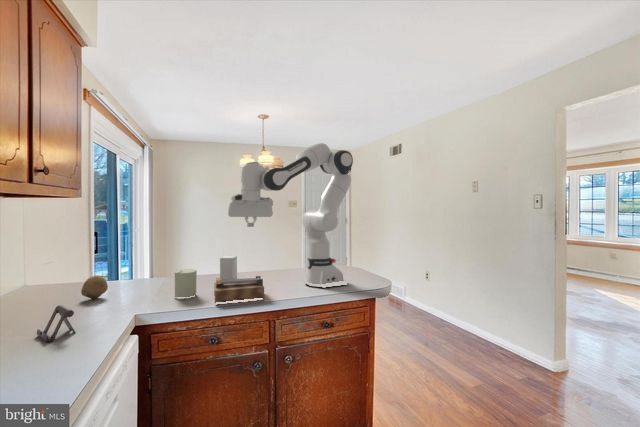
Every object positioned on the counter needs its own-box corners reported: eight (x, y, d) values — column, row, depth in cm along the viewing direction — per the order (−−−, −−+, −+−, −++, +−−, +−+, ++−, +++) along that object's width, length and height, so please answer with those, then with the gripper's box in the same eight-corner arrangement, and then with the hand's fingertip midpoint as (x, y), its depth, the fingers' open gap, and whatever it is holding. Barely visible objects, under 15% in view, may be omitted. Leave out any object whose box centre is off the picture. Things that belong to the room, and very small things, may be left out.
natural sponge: (113, 296, 137) (113, 274, 137) (93, 303, 128) (93, 279, 128) (97, 295, 139) (97, 273, 139) (77, 300, 131) (77, 277, 130)
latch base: (258, 292, 147) (258, 274, 147) (264, 300, 134) (264, 281, 134) (214, 295, 140) (214, 277, 140) (215, 305, 127) (215, 284, 127)
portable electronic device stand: (36, 336, 96) (36, 309, 96) (67, 328, 102) (67, 303, 102) (46, 344, 91) (45, 315, 91) (78, 334, 98) (78, 308, 97)
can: (169, 297, 137) (169, 270, 137) (187, 292, 145) (187, 267, 145) (183, 300, 133) (183, 272, 132) (201, 295, 141) (201, 269, 140)
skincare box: (232, 290, 150) (232, 258, 149) (218, 290, 150) (219, 258, 149) (237, 285, 158) (237, 255, 158) (224, 285, 158) (224, 255, 158)
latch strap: (260, 280, 142) (260, 276, 142) (261, 282, 138) (261, 278, 138) (215, 282, 136) (215, 278, 136) (216, 285, 132) (216, 280, 132)
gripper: (271, 197, 151) (271, 226, 152) (227, 196, 144) (227, 226, 144) (274, 197, 145) (274, 226, 146) (228, 196, 138) (228, 227, 139)
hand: (250, 226), depth 145 cm, fingers closed
